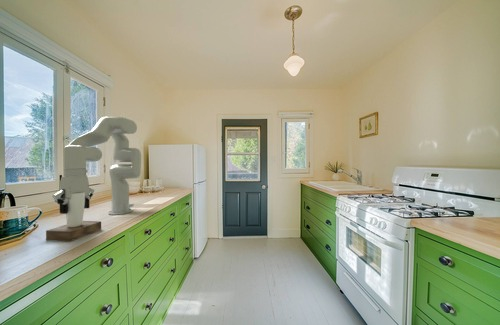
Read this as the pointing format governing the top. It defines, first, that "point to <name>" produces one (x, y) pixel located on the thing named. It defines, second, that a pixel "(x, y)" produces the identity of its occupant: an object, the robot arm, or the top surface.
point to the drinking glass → (75, 210)
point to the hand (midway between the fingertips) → (75, 210)
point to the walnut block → (73, 231)
